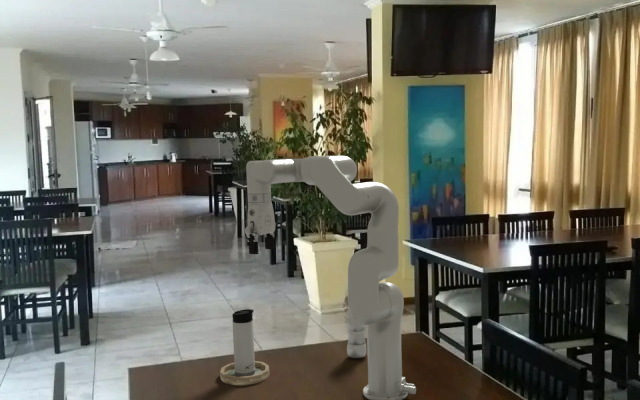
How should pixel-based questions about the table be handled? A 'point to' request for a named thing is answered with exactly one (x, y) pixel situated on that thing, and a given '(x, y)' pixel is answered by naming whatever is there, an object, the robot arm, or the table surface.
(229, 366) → the round tray
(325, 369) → the table surface
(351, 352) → the plastic bottle
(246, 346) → the travel mug
